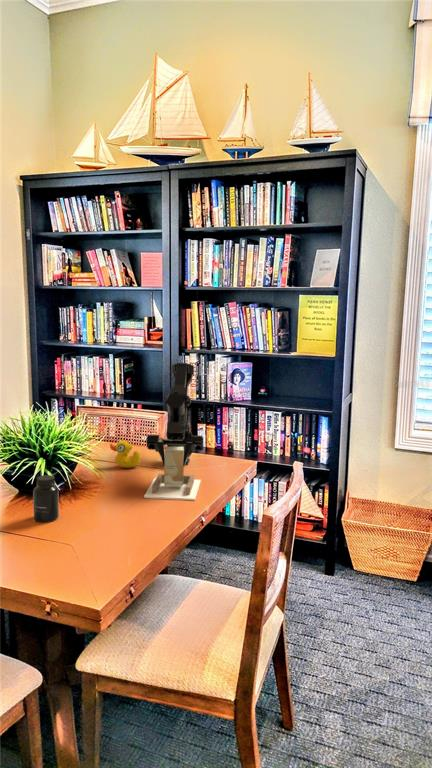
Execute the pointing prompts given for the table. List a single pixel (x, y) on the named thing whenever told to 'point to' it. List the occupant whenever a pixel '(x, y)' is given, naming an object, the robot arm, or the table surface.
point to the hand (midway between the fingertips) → (173, 465)
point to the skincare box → (173, 466)
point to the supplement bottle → (46, 499)
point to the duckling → (125, 455)
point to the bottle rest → (173, 489)
